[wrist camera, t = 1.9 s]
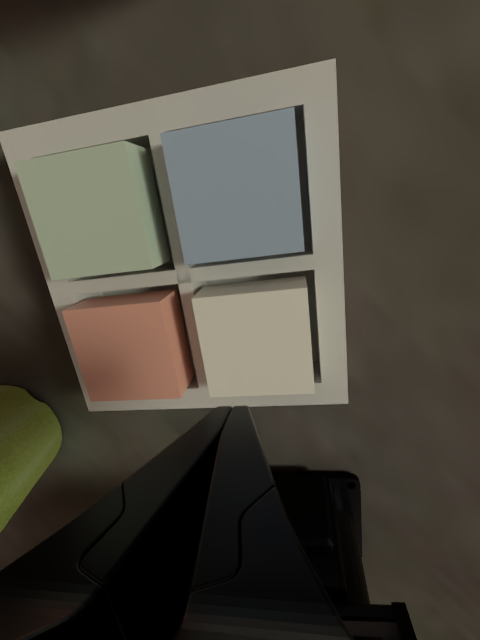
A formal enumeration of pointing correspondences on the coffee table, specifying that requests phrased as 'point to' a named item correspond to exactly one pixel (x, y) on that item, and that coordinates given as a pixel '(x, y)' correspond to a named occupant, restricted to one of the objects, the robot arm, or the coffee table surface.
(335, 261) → the keypad
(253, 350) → the key cream
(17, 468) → the plant pot
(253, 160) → the key slate
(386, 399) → the coffee table surface
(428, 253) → the coffee table surface
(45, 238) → the key sage
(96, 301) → the key coral
